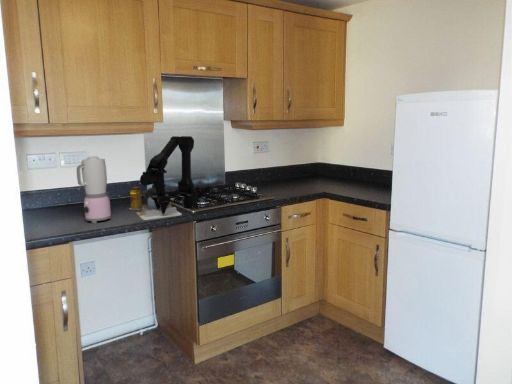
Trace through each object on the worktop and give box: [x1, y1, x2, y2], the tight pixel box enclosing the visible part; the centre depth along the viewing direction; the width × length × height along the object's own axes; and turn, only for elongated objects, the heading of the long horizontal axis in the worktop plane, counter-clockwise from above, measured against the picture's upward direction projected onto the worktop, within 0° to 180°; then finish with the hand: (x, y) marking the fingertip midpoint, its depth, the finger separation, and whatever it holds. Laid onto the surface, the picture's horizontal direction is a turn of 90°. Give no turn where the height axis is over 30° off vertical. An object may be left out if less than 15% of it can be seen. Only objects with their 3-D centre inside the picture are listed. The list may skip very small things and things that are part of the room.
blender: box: [76, 155, 112, 224], centre depth 211 cm, size 16×12×32 cm
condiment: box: [128, 186, 143, 211], centre depth 240 cm, size 7×8×12 cm
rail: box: [144, 206, 177, 217], centre depth 222 cm, size 16×3×3 cm, turn 118°
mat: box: [140, 210, 183, 221], centre depth 222 cm, size 20×8×1 cm, turn 118°
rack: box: [136, 203, 178, 217], centre depth 228 cm, size 20×6×5 cm, turn 118°
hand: (160, 212), depth 222 cm, fingers open, 9 cm apart
